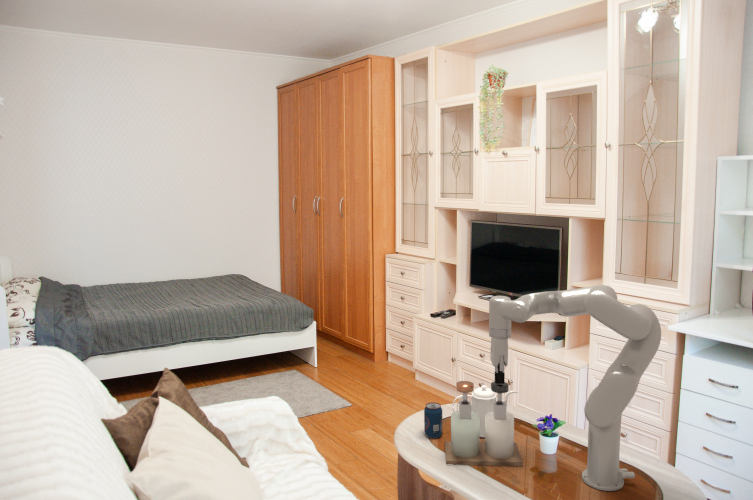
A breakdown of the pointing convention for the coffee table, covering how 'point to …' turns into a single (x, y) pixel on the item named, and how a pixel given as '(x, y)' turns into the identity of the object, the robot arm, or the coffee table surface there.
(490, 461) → the walnut tray
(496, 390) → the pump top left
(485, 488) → the coffee table surface
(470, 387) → the brown rounded piece
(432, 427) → the soda can
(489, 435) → the frosted white jar
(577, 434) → the coffee table surface
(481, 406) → the coffeepot
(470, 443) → the pale green bottle
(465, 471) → the coffee table surface
